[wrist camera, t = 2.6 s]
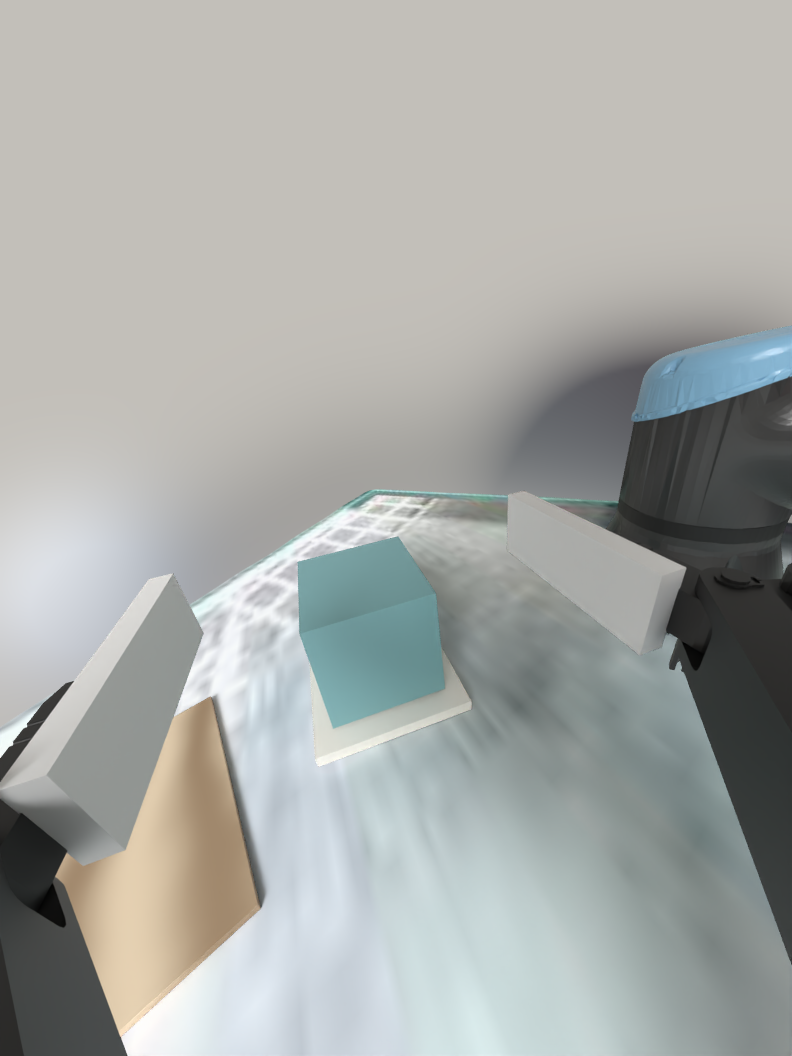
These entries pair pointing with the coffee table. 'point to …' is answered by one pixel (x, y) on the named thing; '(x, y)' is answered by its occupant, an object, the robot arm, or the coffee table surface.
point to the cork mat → (167, 875)
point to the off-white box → (385, 719)
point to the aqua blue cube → (369, 629)
